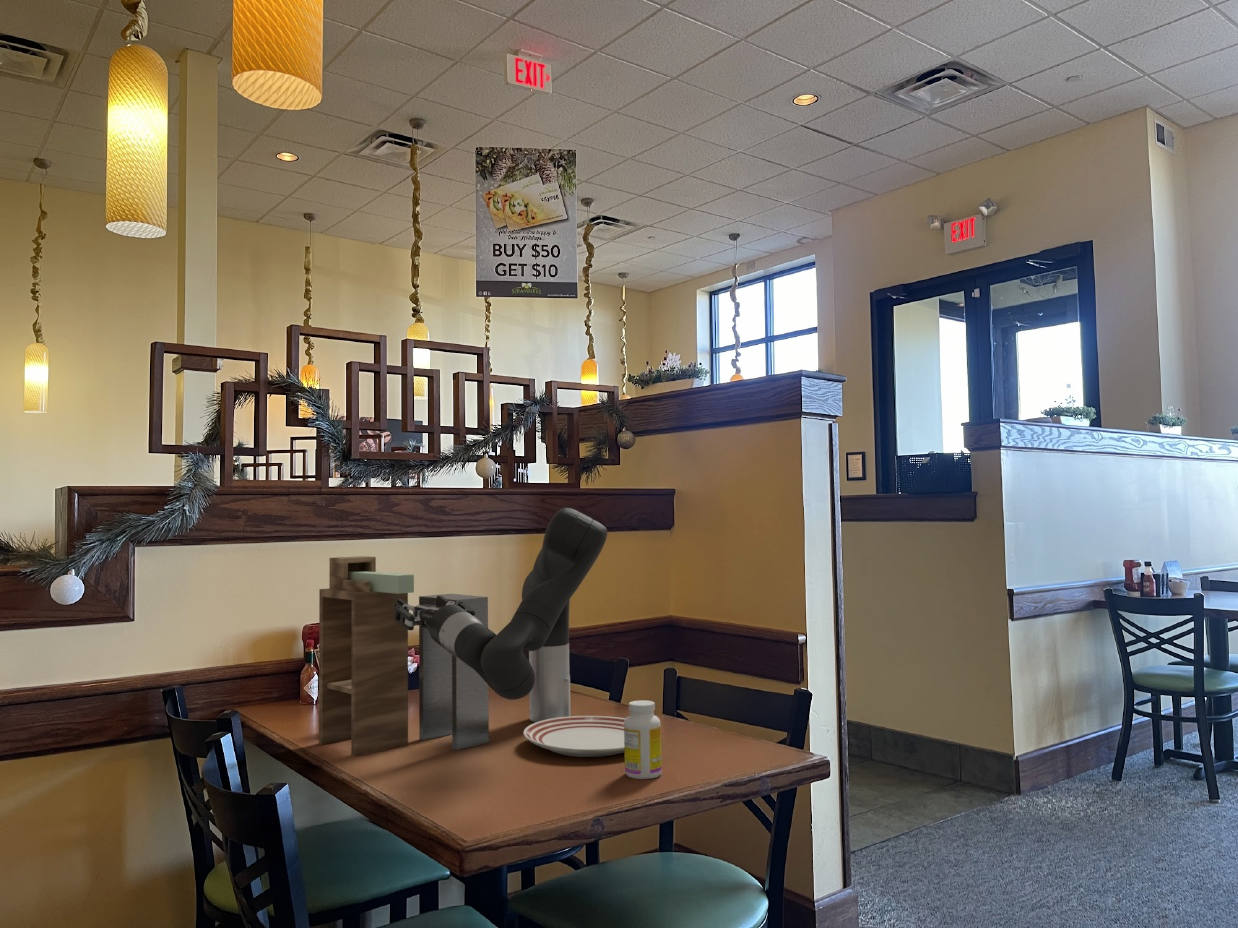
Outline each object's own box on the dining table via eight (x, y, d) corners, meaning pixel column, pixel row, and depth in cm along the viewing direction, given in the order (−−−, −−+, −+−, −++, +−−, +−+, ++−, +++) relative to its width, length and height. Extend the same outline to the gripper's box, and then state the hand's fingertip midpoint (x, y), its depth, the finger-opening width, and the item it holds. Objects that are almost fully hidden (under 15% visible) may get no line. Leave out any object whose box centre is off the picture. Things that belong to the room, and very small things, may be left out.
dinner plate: (670, 733, 194) (670, 717, 194) (639, 768, 167) (639, 750, 167) (550, 726, 201) (550, 711, 201) (502, 759, 175) (501, 742, 175)
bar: (413, 592, 179) (413, 574, 179) (398, 593, 176) (398, 575, 176) (357, 587, 194) (357, 570, 194) (342, 588, 192) (342, 571, 192)
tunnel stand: (408, 744, 186) (407, 557, 188) (355, 756, 178) (355, 560, 180) (370, 732, 197) (370, 555, 199) (318, 743, 188) (319, 558, 190)
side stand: (488, 742, 187) (487, 596, 188) (456, 750, 181) (456, 599, 183) (450, 732, 196) (450, 593, 198) (419, 739, 190) (419, 596, 192)
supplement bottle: (660, 769, 166) (659, 698, 166) (663, 779, 159) (662, 706, 160) (623, 770, 165) (622, 699, 166) (625, 780, 159) (624, 706, 159)
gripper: (496, 609, 165) (453, 581, 177) (425, 615, 155) (385, 585, 168) (490, 648, 166) (447, 617, 178) (420, 656, 157) (380, 623, 169)
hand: (417, 601), depth 173 cm, fingers open, 8 cm apart
